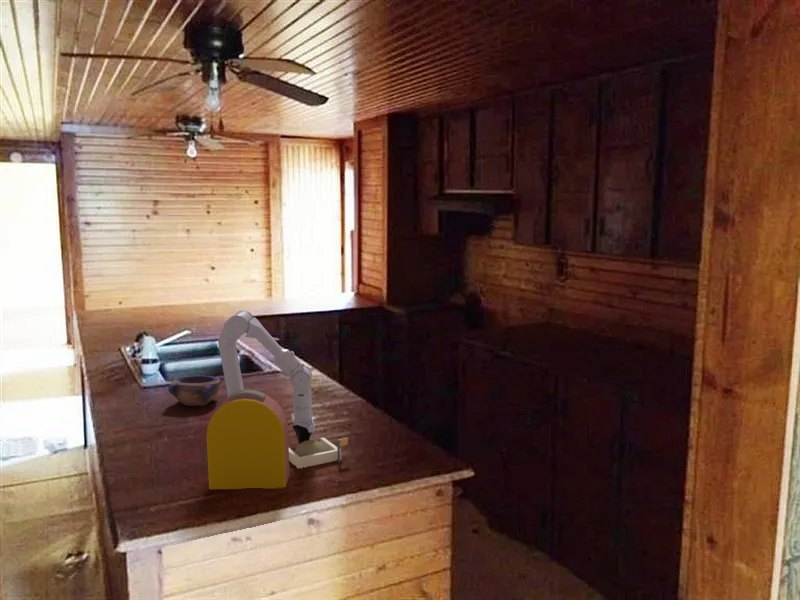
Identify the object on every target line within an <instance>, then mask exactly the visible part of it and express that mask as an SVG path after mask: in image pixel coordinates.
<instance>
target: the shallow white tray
mask: <svg viewBox="0 0 800 600" xmlns="http://www.w3.org/2000/svg"><path fill="white" fill-rule="evenodd" d="M348 441H349V439H348V437H344V438H340V439H337V441H336V445H337V446H336V445H335V444H333V443H332V442H330V440H328V439H327V438H325V437H320V441H319V442H320V443H322V444H323V445H324V447H325V451H326V452H321V453H317V454H312V455H307V456H302V457H300V456H298V455H297V454H296V453H295V450H293V449H292V448H290V447H289V463H291V464H292V465H293V466H294V465H295V466H296V467H295V466H294V467H295V468H297V469H298V470H300V469H304V468H309V467H312V466H317V465H322V464H327V463H331V462H335V461H337V463H341V460H342V449H341V447H342V446H346V445H348V443H349V442H348ZM308 466H309V467H308ZM303 467H304V468H303ZM299 468H300V469H299Z"/></svg>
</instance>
